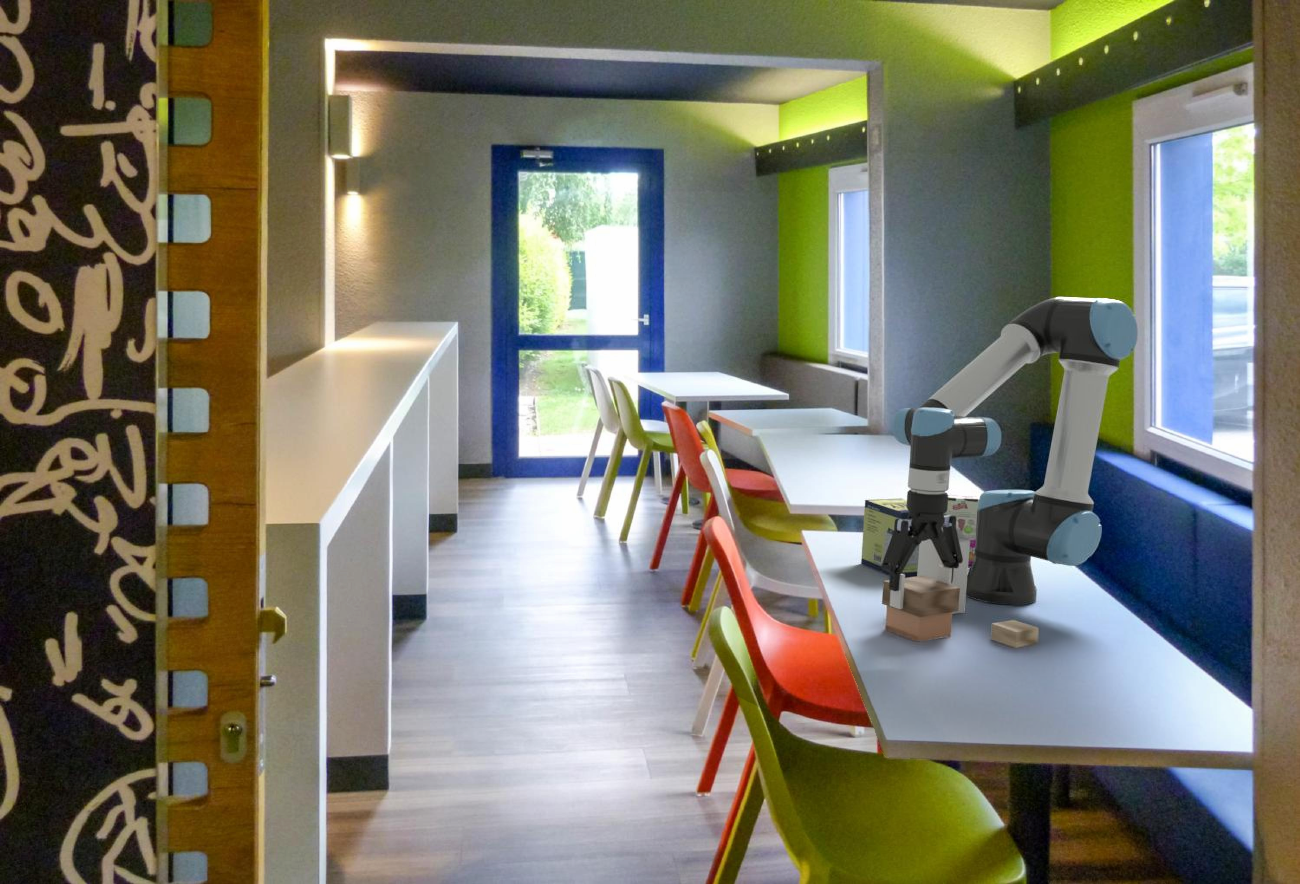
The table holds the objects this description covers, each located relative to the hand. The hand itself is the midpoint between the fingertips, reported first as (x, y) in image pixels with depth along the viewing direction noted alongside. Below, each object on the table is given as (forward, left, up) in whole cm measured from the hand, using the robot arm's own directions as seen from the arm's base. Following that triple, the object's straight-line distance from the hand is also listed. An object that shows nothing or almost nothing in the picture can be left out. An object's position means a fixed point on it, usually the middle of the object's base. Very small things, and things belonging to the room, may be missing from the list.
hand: (919, 603), depth 232 cm
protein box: (-33, -40, -6) cm, 52 cm away
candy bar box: (-51, -39, -6) cm, 64 cm away
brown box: (0, 0, -1) cm, 1 cm away
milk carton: (-16, -10, -6) cm, 20 cm away
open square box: (0, 0, -6) cm, 6 cm away
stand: (-13, +12, -6) cm, 19 cm away
